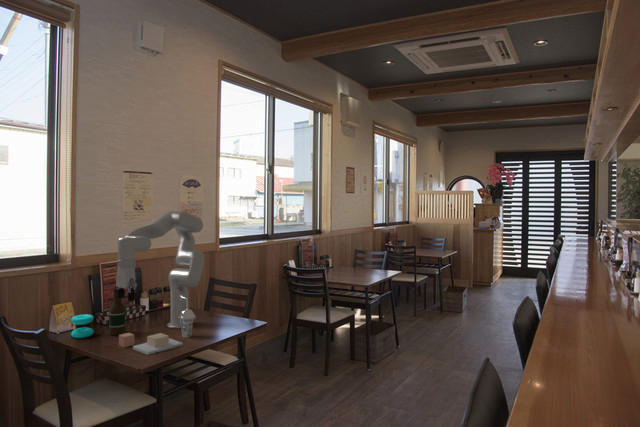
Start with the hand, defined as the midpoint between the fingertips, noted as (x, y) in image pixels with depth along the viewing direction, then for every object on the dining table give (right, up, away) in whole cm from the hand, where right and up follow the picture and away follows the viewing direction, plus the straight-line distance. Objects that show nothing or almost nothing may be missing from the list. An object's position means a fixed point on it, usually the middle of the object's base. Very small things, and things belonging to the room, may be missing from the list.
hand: (126, 299), depth 215 cm
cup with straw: (+24, -22, +16) cm, 36 cm away
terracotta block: (0, -22, +1) cm, 22 cm away
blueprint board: (+16, -22, -2) cm, 27 cm away
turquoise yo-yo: (-28, -22, +15) cm, 39 cm away
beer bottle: (-13, -22, +19) cm, 31 cm away
